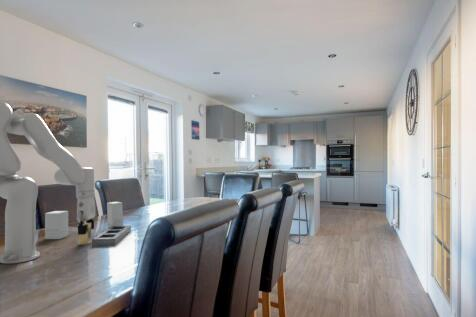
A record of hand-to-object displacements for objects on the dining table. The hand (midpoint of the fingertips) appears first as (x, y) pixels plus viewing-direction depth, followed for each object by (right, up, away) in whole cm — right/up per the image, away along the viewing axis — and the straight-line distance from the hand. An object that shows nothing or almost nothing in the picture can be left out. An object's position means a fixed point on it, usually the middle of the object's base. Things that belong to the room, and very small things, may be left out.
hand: (86, 231), depth 137 cm
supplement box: (-20, -6, +10) cm, 23 cm away
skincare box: (+1, -6, +29) cm, 29 cm away
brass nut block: (0, -5, -1) cm, 5 cm away
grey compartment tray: (+9, -5, +9) cm, 13 cm away
